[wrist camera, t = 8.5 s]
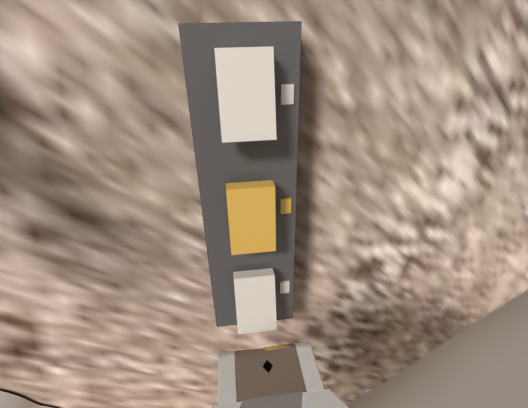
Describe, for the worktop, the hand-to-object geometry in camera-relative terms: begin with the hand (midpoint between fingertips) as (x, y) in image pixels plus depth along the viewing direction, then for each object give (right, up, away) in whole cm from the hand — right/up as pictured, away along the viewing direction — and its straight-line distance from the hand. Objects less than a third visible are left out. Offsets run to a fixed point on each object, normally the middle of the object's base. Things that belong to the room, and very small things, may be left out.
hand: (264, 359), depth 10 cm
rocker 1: (-1, +12, +9) cm, 15 cm away
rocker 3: (-1, -3, +16) cm, 17 cm away
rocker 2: (-1, +5, +13) cm, 13 cm away
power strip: (-2, +5, +17) cm, 18 cm away
